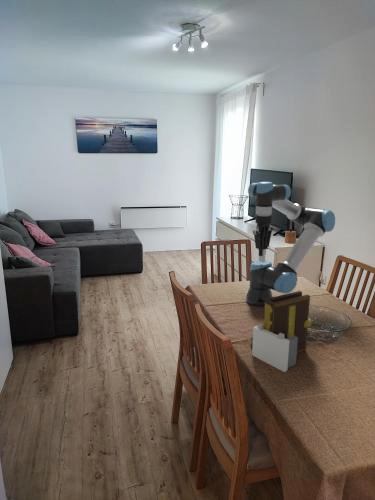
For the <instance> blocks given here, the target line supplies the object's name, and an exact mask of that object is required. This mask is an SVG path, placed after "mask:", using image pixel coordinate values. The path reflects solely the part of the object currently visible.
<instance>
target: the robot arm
mask: <svg viewBox="0 0 375 500" xmlns="http://www.w3.org/2000/svg"><path fill="white" fill-rule="evenodd" d="M247 192H248V196H249V197H250V198H254V199H256V201H255V203H256V205H255V214H256V215H255V223H256V228H255V230H252V233H253V237H254V243H255V244H254V245H255V249H258V260H257V261H254V262H252V263H250V267H249V288H248V290H247V293H246V296H245V302H246V303H248V304H249V305H251V306H254V307H264V306H265V299H267V298H271V297H274V296H273V293H272V291H275V292H277V293H280V294H283V295H284V294H289V293H292V291H293V290H294V289H295V288H296V287H297V285H298V283H297V282H298V272H297V271H298V270H299V268H300V267H301V265H302V263H304V262H303V261H304V260H305V258H306V257H307V256H308V254H309V252H310V251H311V250H312V247H313V246H314V245H315V243H316V242H317V240H318V239H319V238H321V237H323V236H324V235H325V234H326V232H327V233H330V232H332V231H333V230H334V228H335V225H336V216H335V213H334V212H333V211H332V210H330V209H326V208H324V209H322V208H316V207H310V206H303V205H300V204H298V203H294V202H292V201H290V200H289V198H290V197H291V194H292V190H291V187H290V186H289V185H288V184H282V183H281V184H274V182H271V181H260V182H253V183H251V184H249V186H248V189H247ZM273 209H275V210H277V211H279V212H281V214H283V215H286V218H288V220H290V221H292V222H293V223H295V224H297V225H299V226H301V227H303V228H304V229H303V230H302V232H301V234H300V235H299V237H297V240H296V241H295V243H294V244H293V245H292V247H291V249H290V250H289V252H288V253H287V255H286V256H285V258H284V259H283V261H280V262H278V263H277V264H276V266H273V263H272V262H271V261H268V260H266V255H267V254H266V252H267V250H269V247H270V242H271V237H272V232H273V230H274V227H272V226H271V223H272V214H273Z"/></svg>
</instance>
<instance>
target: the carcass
mask: <svg viewBox="0 0 375 500" xmlns="http://www.w3.org/2000/svg"><path fill="white" fill-rule="evenodd" d="M252 335H253V345H252V354H251V356H252V355H253V357H254V358H257V359H259V360H260V361H262V362H264V363H266V364H268V365H270V366H272V367H274V368H275V369H277V370H279V371H281V372H283V373H285V372H287V371H288V368H291V367H293V366H295V365H296V364H297V354H298V353H297V341H298V337H296V336H293V337H290V338H287V339H285V338H284V337H285V335H284V334H282V333H279V334H278V335H276V334H274V333H272V332H269V331H267V330H265V329H264V324H261V323H258V325H255V326H253V327H252Z"/></svg>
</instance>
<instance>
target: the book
mask: <svg viewBox="0 0 375 500" xmlns="http://www.w3.org/2000/svg"><path fill="white" fill-rule="evenodd" d="M310 300H311V296H310V295H309V294H303V292H302V291H301V290H297V291H294V292H289V293H286V294H284V293H283V294H280V295H277V296H273V297H271V298H267V299H265V306H263V307H264V311H263V325H264V329H265V330H267V331H269V332H272V333H274V334H276V335H278V334H279V333H282V334H284V335H285V337H284V338H285V339H287V338H290V337H293V336H296V337H298V341H297V354H299V353H302V352H306V349H307V338H308V337H307V336H308V329H309V328H311V326H312V319H311V318H310V317H309V314H310V302H311V301H310Z"/></svg>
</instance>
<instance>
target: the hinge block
mask: <svg viewBox="0 0 375 500" xmlns="http://www.w3.org/2000/svg"><path fill="white" fill-rule="evenodd" d="M250 345H252V346H253V334H252V335H251V337H250Z"/></svg>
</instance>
